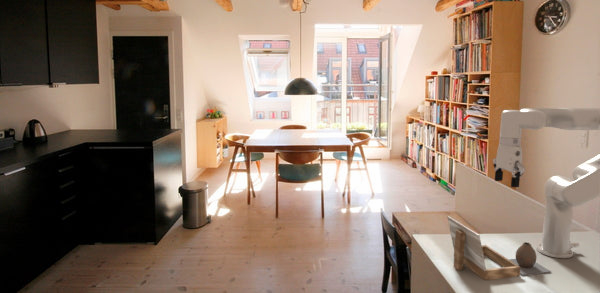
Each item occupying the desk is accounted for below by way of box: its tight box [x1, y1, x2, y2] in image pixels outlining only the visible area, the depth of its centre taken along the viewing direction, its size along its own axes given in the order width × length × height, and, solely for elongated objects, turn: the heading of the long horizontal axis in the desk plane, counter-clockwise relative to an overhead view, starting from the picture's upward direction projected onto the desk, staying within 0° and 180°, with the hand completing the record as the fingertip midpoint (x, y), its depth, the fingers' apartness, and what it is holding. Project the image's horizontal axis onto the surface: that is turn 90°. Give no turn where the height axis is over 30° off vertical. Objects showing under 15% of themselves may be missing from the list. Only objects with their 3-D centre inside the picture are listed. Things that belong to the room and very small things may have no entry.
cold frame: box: [446, 215, 521, 281], centre depth 158 cm, size 19×20×17 cm
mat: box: [508, 258, 552, 277], centre depth 158 cm, size 12×12×1 cm
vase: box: [515, 241, 538, 268], centre depth 158 cm, size 7×7×9 cm
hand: (506, 183), depth 168 cm, fingers open, 9 cm apart
